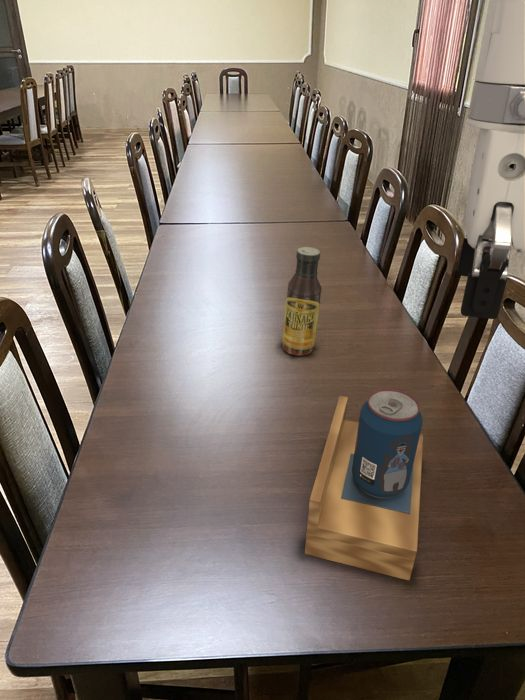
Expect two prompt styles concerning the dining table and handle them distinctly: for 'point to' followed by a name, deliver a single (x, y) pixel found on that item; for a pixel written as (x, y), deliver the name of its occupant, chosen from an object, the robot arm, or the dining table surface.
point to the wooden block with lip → (361, 510)
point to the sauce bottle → (302, 304)
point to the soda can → (386, 442)
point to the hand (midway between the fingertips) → (475, 294)
